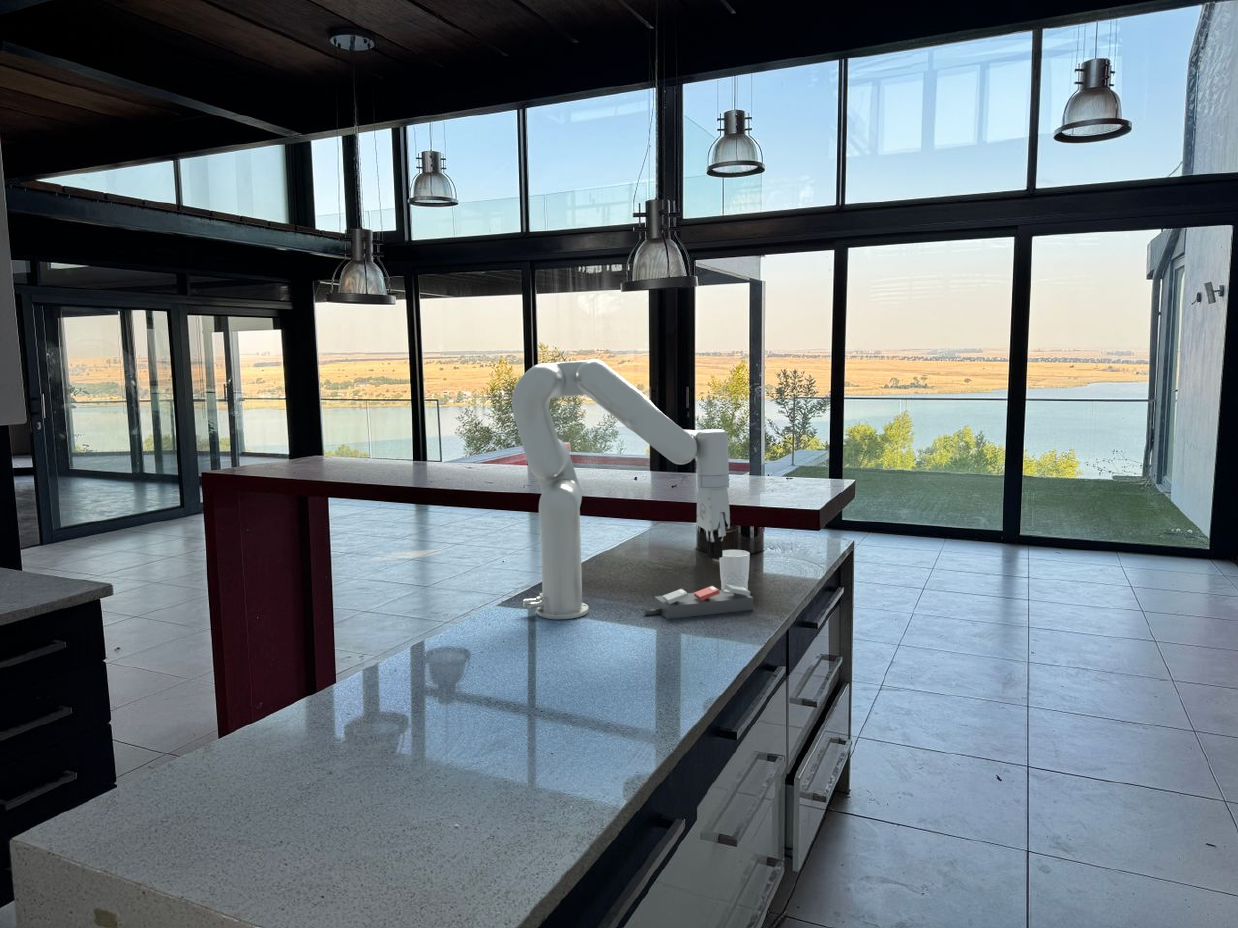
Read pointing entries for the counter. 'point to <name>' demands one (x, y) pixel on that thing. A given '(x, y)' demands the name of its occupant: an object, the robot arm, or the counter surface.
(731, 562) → the white cup
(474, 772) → the counter surface
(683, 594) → the outlet rocker
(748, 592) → the rocker outlet
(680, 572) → the counter surface
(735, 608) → the power strip
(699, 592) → the outlet rocker
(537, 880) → the counter surface
